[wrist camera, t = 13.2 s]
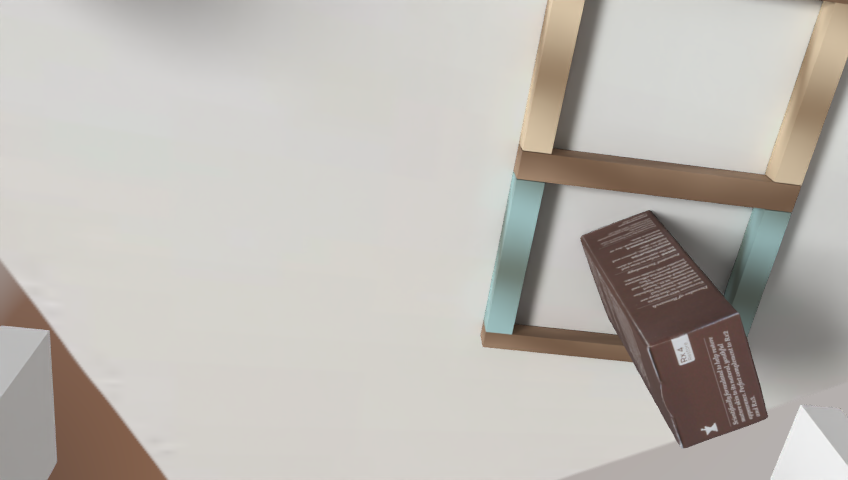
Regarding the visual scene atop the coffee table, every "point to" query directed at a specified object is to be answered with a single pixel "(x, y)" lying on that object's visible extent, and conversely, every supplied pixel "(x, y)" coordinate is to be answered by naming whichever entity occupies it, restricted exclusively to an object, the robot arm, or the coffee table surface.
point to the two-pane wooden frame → (653, 181)
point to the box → (675, 329)
